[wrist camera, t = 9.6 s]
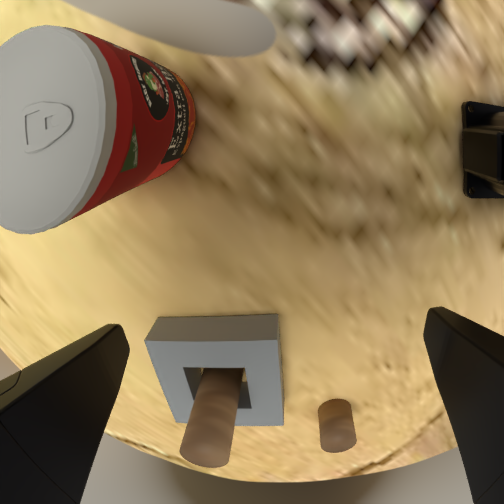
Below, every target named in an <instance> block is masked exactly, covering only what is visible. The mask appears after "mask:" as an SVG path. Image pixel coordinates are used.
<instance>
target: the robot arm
mask: <svg viewBox="0 0 504 504" xmlns="http://www.w3.org/2000/svg"><path fill="white" fill-rule="evenodd" d="M468 106H470V107H471V111H469V110H468ZM462 112H463V129H464V130H463V168H464V194H465V195H466V196H467V197H469V198H504V107H501V106H496V105H490V104H485V103H479V102H472V101H467V102H464V103H463V105H462ZM470 188H472V192H471V193H469V190H470ZM423 337H424V342H425V345H426V348H427V352H428V355H429V359H430V363H431V366H432V370H433V374H434V377H435V381H436V384H437V387H438V389H439V392H440V395H441V397H442V400H443V403H444V405H445V408H446V411H447V414H448V417H449V420H450V423H451V426H452V429H453V432H454V435H455V438H456V441H457V444H458V447H459V451H460V454H461V457H462V461H463V464H464V467H465V471H466V475H467V479H468V483H469V486H470V490H471V495H472V499H473V503H474V504H504V336H502V335H500V334H498V333H496V332H494V331H492V330H490V329H488V328H486V327H484V326H482V325H480V324H477V323H475V322H473V321H471V320H469V319H467V318H465V317H463V316H461V315H459V314H457V313H455V312H453V311H451V310H448V309H446V308H444V307H441V306H440V307H433V308H430V309H429V310H428V313H427V318H426V323H425V327H424V333H423ZM129 352H130V348H129V344H128V341H127V339H126V336H125V333H124V330H123V328H122V326H121V325H119V324H107V325H105V326H103V327H101V328H99V329H98V330H96V331H94V332H92V333H90V334H88V335H86V336H84V337H82V338H81V339H79V340H77V341H75V342H73V343H71V344H69V345H67V346H65V347H64V348H62V349H60V350H58V351H56V352H54V353H52V354H50V355H48V356H47V357H45V358H43V359H41V360H39V361H37V362H35V363H33V364H31V365H30V366H28V367H26V368H24V369H22V371H21V370H20V371H18V372H16V373H15V374H13V375H11V376H9V377H7V378H5V379H3V380H1V381H0V504H80V502H81V499H82V496H83V492H84V489H85V486H86V483H87V480H88V476H89V473H90V471H91V467H92V465H93V461H94V458H95V456H96V453H97V450H98V447H99V444H100V441H101V438H102V436H103V433H104V430H105V427H106V425H107V422H108V419H109V417H110V414H111V411H112V409H113V406H114V403H115V401H116V398H117V395H118V392H119V389H120V385H121V382H122V378H123V374H124V371H125V367H126V364H127V360H128V357H129Z"/></svg>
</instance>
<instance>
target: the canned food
mask: <svg viewBox="0 0 504 504" xmlns="http://www.w3.org/2000/svg"><path fill="white" fill-rule="evenodd" d="M195 114H196V113H195V107H194V101H193V99H192V96H191V94H190V91H189V89H188V88H187V86H186V85H185V83H184V82H183V80H182V79H180V78H179V77H178V76H177V75H176V74H175V73H174V72H172V71H170V70H169V69H167V68H165V67H163V66H161V65H159V64H157V63H155V62H153V61H151V60H149V59H146V58H144V57H142V56H140V55H138V54H135V53H133V52H131V51H129V50H126V49H124V48H122V47H120V46H117V45H115V44H112V43H110V42H108V41H105V40H103V39H100V38H98V37H95V36H93V35H90V34H87V33H83V32H80V31H77V30H75V29H72V28H66V27H59V26H50V25H43V26H37V27H32V28H29V29H27V30H25V31H22V32H20V33H18V34H16V35H15V36H13V37H12V38H10V39H9V40H8V41H6V42H5V43H4V44H3V45H2V46H1V47H0V226H2V227H3V228H5V229H7V230H10V231H13V232H16V233H20V234H35V233H39V232H44V231H46V230H48V229H52V228H55V227H57V226H59V225H61V224H63V223H65V222H67V221H69V220H71V219H73V218H75V217H77V216H79V215H81V214H83V213H85V212H87V211H89V210H91V209H93V208H95V207H97V206H98V205H100V204H102V203H104V202H106V201H108V200H110V199H112V198H114V197H116V196H118V195H120V194H122V193H124V192H126V191H129V190H131V189H133V188H135V187H137V186H139V185H141V184H143V183H145V182H148V181H150V180H152V179H154V178H156V177H158V176H161V175H162V174H164V173H165V172H167V171H168V170H170V169H171V168H172V167H173V166H174V165H175V164H176V163H177V162H178V161H179V160H180V159H181V157H182V156H183V154H184V153H185V152H186V150H187V148H188V146H189V144H190V142H191V139H192V136H193V132H194V128H195Z"/></svg>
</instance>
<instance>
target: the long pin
mask: <svg viewBox="0 0 504 504" xmlns="http://www.w3.org/2000/svg"><path fill="white" fill-rule="evenodd" d="M243 370H244V368H204V371H203V374H202V377H201V380H200V384H199V387H198V390H197V394H196V397H195V400H194V404H193V407H192V410H191V414H190V417H189V420H188V424H187V427H186V430H185V434H184V437H183V440H182V444H181V447H180V454H181V455H182V457H183V458H184V459H186V460H187V461H189V462H191V463H193V464H195V465H198V466H202V467H208V468H217V467H222V466H225V465H226V464H227V463H228V462H229V457H230V451H231V445H232V439H233V432H234V426H235V420H236V414H237V408H238V402H239V395H240V389H241V383H242V377H243Z"/></svg>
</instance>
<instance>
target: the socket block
mask: <svg viewBox="0 0 504 504" xmlns="http://www.w3.org/2000/svg"><path fill="white" fill-rule="evenodd" d="M144 341H145V344H146V347H147V350H148V353H149V355H150V358H151V361H152V364H153V366H154V369H155V372H156V374H157V377H158V380H159V382H160V385H161V387H162V390H163V392H164V395H165V397H166V400H167V402H168V404H169V407H170V409H171V412H172V414H173V416H174V418H175V421H176V422H178V423H188V420H189V417H190V414H191V410H192V407H193V404H194V400H195V397H196V394H197V390H198V387H199V384H200V380H201V377H202V375H201V372H200V368H199V367H201V368H245V371H246V377H247V382H242V383H241V389H240V395H239V402H238V408H237V414H236V420H235V426H283V425H284V390H283V375H282V361H281V347H280V334H279V321H278V314H267V315H245V316H215V317H158V318H157V320H156V322H155V323H154V325H153V327H152V328H151V330H150V332H149V333H148V335H147V337H146V338H145V340H144Z"/></svg>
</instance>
